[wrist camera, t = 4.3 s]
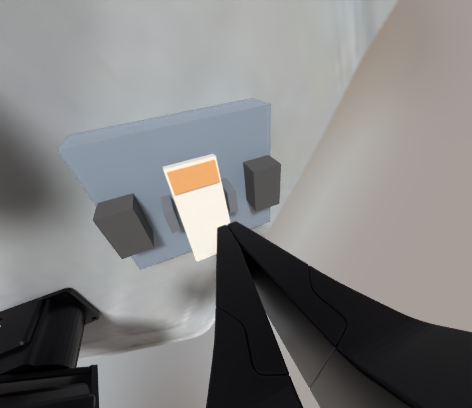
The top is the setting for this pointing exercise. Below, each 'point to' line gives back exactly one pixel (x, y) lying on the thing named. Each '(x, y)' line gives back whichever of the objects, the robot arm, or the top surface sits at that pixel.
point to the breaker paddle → (199, 201)
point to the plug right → (262, 182)
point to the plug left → (124, 225)
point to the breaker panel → (170, 152)
